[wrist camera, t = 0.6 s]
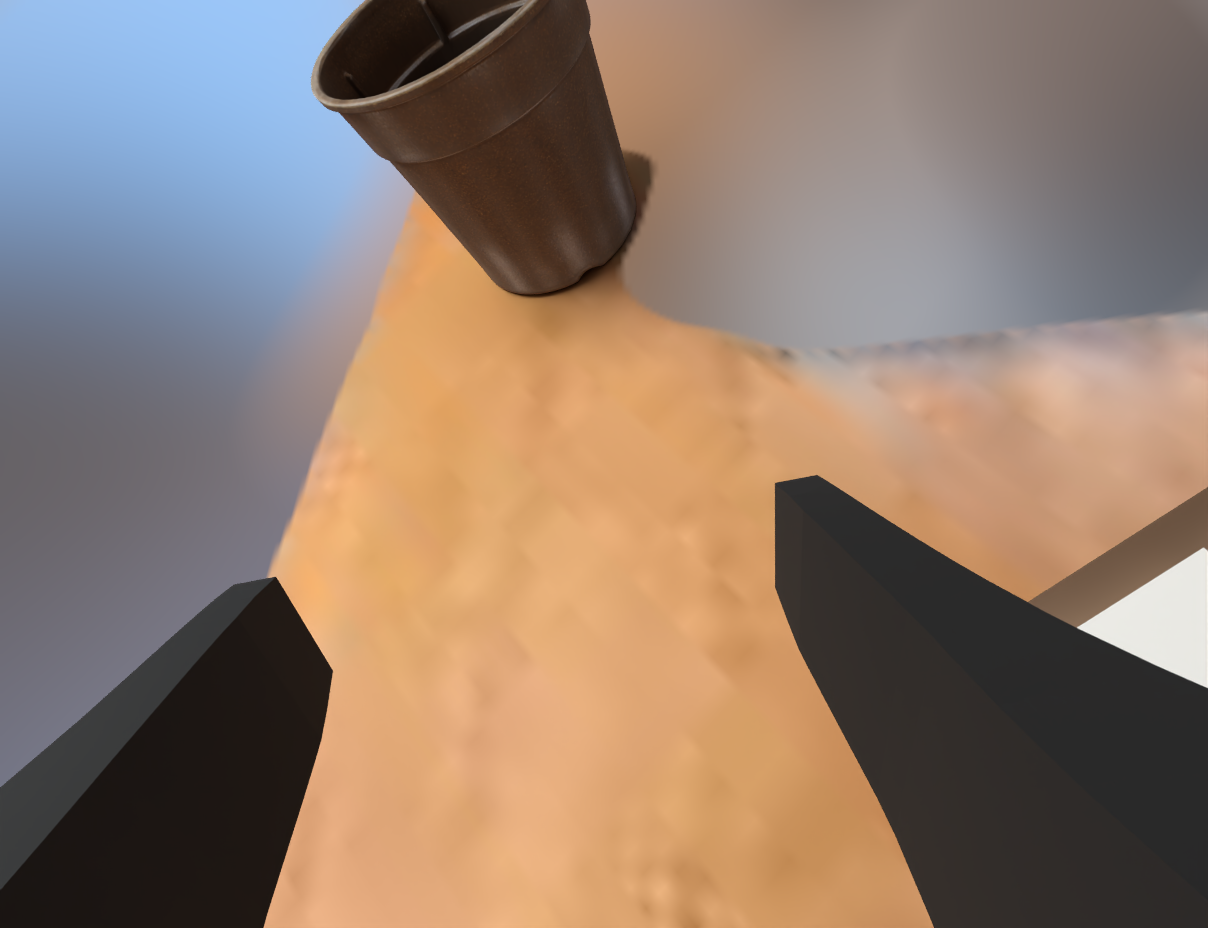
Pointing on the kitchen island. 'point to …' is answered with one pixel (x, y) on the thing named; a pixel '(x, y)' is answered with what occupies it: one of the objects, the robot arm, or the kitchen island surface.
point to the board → (1129, 564)
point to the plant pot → (490, 127)
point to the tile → (1164, 620)
